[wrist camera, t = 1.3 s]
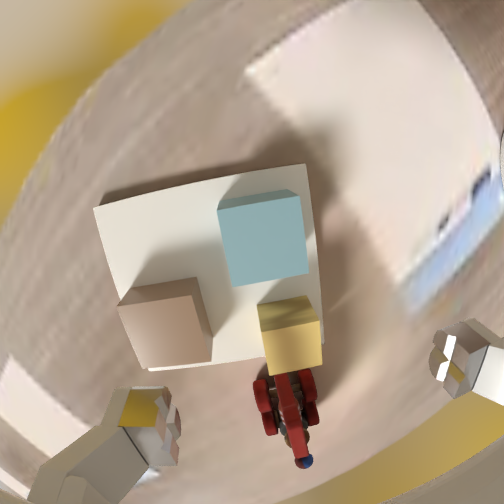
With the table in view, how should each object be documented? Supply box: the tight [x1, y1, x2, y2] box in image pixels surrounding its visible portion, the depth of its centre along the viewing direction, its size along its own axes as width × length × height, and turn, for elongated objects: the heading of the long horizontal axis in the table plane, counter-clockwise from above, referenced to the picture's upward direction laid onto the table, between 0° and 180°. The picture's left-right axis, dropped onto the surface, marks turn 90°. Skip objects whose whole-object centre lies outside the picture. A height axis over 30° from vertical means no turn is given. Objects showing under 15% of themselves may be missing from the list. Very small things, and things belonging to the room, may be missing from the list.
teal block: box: [216, 189, 309, 287], centre depth 24 cm, size 6×6×5 cm
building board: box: [93, 164, 324, 371], centre depth 27 cm, size 20×19×5 cm
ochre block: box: [257, 295, 322, 376], centre depth 27 cm, size 5×5×5 cm
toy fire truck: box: [253, 369, 319, 469], centre depth 30 cm, size 7×12×10 cm, turn 11°
